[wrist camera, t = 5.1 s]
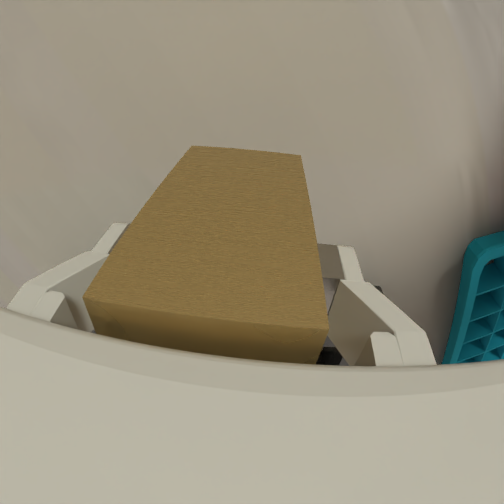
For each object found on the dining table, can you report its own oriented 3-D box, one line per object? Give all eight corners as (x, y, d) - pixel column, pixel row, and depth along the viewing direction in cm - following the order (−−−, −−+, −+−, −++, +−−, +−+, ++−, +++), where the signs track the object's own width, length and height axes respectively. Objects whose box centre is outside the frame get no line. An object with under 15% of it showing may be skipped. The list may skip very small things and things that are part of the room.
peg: (300, 155, 11) (329, 329, 5) (286, 245, 13) (286, 428, 7) (191, 145, 11) (82, 297, 5) (193, 235, 14) (130, 405, 7)
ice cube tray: (430, 377, 30) (437, 398, 28) (456, 230, 19) (475, 254, 17) (508, 348, 28) (517, 366, 25) (553, 204, 17) (573, 222, 15)
